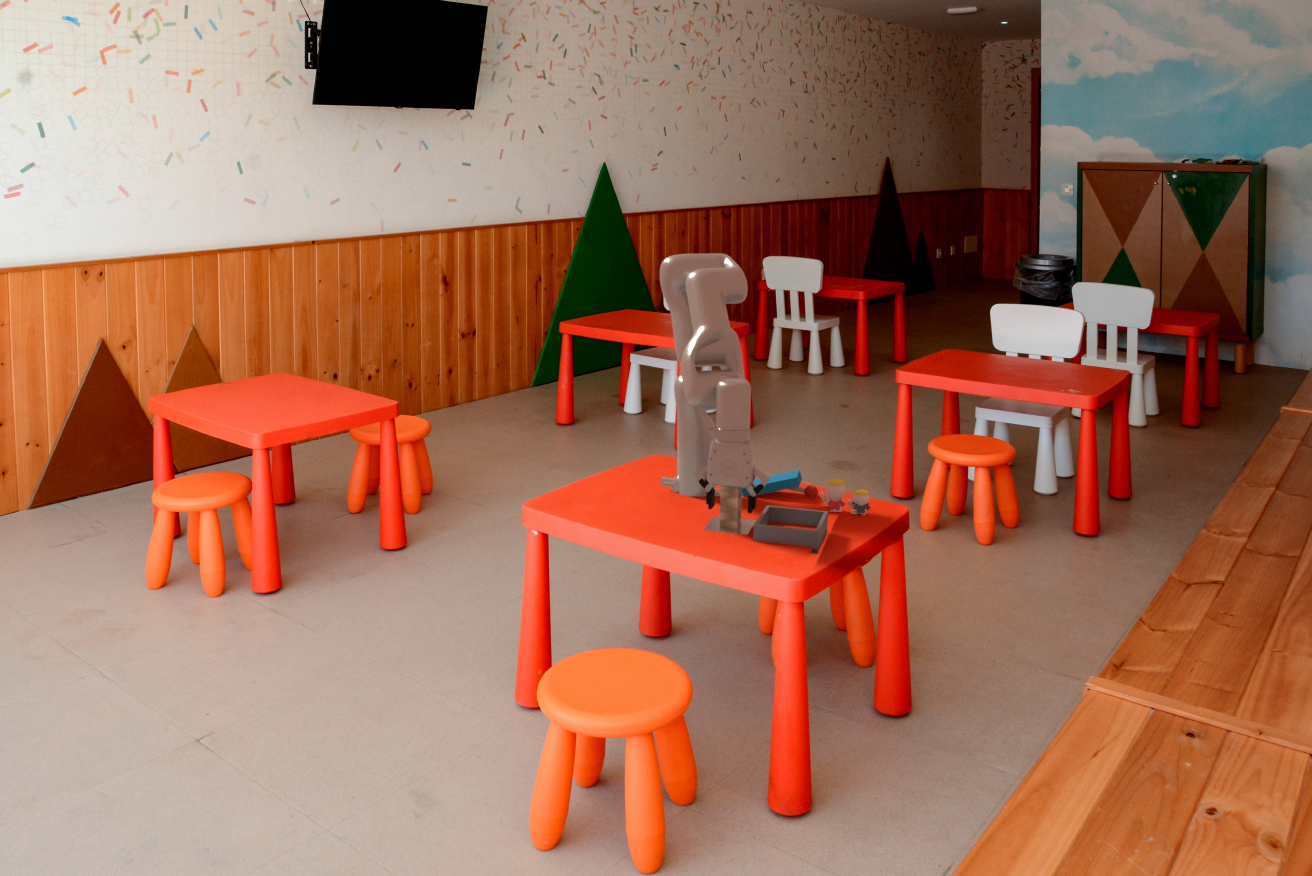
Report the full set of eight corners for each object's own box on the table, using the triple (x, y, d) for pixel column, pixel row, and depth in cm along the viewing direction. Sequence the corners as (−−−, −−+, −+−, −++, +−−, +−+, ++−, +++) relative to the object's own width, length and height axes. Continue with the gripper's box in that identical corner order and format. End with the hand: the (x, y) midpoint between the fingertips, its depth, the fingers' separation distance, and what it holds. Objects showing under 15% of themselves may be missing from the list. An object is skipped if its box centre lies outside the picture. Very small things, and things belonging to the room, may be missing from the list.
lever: (747, 515, 265) (818, 501, 260) (740, 488, 264) (811, 474, 259) (751, 506, 272) (820, 493, 267) (744, 480, 270) (814, 466, 265)
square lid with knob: (703, 536, 237) (703, 517, 235) (714, 521, 246) (714, 504, 245) (747, 541, 234) (747, 522, 233) (756, 526, 243) (757, 508, 242)
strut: (719, 526, 238) (720, 484, 235) (723, 521, 242) (724, 479, 239) (737, 528, 237) (738, 486, 234) (741, 523, 241) (742, 480, 238)
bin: (753, 546, 230) (753, 524, 229) (766, 525, 243) (766, 505, 242) (817, 553, 226) (818, 531, 225) (827, 532, 239) (828, 511, 238)
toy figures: (870, 512, 253) (872, 478, 251) (869, 518, 249) (871, 484, 247) (820, 508, 256) (821, 475, 254) (818, 513, 252) (820, 480, 250)
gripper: (690, 435, 233) (689, 510, 237) (768, 442, 228) (765, 518, 232) (698, 427, 240) (697, 501, 244) (774, 433, 235) (772, 508, 239)
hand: (730, 509), depth 238 cm, fingers open, 8 cm apart
